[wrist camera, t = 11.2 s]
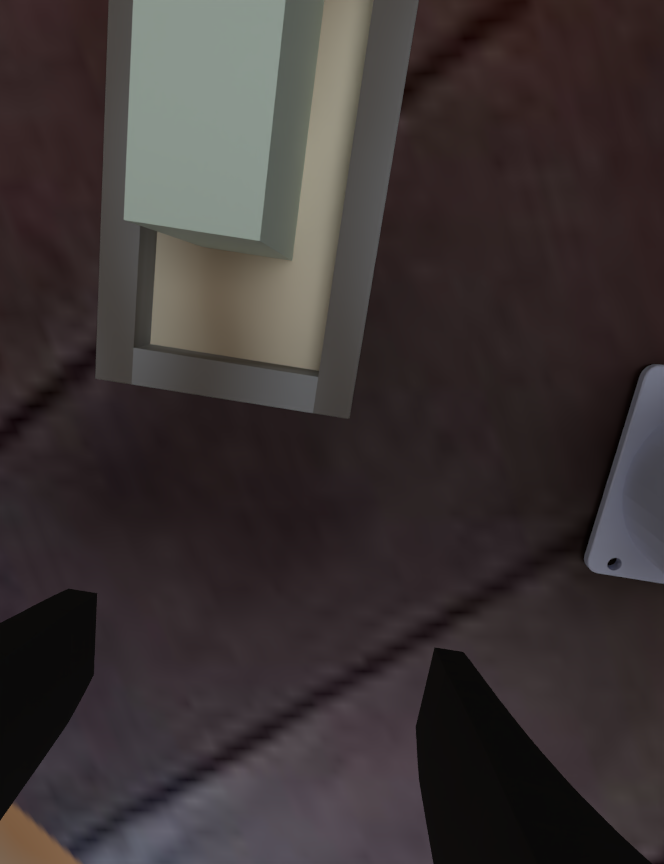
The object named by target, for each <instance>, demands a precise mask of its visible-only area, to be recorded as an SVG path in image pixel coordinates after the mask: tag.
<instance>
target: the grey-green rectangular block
mask: <svg viewBox="0 0 664 864" xmlns="http://www.w3.org/2000/svg"><path fill="white" fill-rule="evenodd" d="M323 8H324V0H133V15H132V38H131V61H130V84H129V108H128V131H127V154H126V177H125V200H124V220H125V221H128V222H131V223H134V224H137V225H140V226H143V227H146V228H149V229H151V230H154V231H157V232H160V233H163V234H166V235H169V236H172V237H175V238H178V239H181V240H184V241H187V242H190V243H192V244H195V245H198V246H201V247H206V248H213V249H219V250H226V251H232V252H239V253H245V254H251V255H258V256H264V257H271V258H277V259H284V260H290V261H292V259H293V251H294V243H295V235H296V227H297V218H298V210H299V202H300V194H301V186H302V178H303V170H304V162H305V154H306V146H307V137H308V129H309V121H310V113H311V105H312V97H313V89H314V81H315V73H316V65H317V56H318V48H319V40H320V32H321V24H322V16H323Z"/></svg>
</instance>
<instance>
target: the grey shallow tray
mask: <svg viewBox="0 0 664 864" xmlns="http://www.w3.org/2000/svg"><path fill="white" fill-rule="evenodd" d="M418 1H419V0H324V8H323V16H322V24H321V32H320V40H319V48H318V56H317V65H316V73H315V81H314V89H313V97H312V105H311V113H310V121H309V129H308V137H307V146H306V154H305V162H304V170H303V178H302V186H301V194H300V202H299V210H298V218H297V227H296V235H295V243H294V251H293V259H292V261H290V260H284V259H277V258H271V257H264V256H258V255H251V254H245V253H239V252H232V251H226V250H219V249H213V248H206V247H201V246H198V245H195V244H192V243H190V242H187V241H184V240H181V239H178V238H175V237H172V236H169V235H166V234H163V233H160V232H157V231H154V230H151V229H149V228H146V227H143V226H140V225H137V224H134V223H131V222H128V221H125V220H124V200H125V177H126V154H127V131H128V108H129V84H130V61H131V38H132V15H133V0H109V10H108V38H107V66H106V94H105V122H104V150H103V178H102V206H101V234H100V262H99V290H98V318H97V346H96V374H95V379H101V380H107V381H114V382H120V383H126V384H133V385H139V386H145V387H151V388H158V389H164V390H170V391H177V392H183V393H189V394H196V395H202V396H208V397H214V398H221V399H227V400H233V401H240V402H246V403H252V404H258V405H265V406H271V407H277V408H284V409H290V410H296V411H302V412H309V413H315V414H321V415H328V416H334V417H340V418H346V419H349V417H350V411H351V405H352V399H353V393H354V387H355V381H356V375H357V369H358V363H359V357H360V351H361V345H362V339H363V333H364V327H365V321H366V315H367V309H368V303H369V297H370V291H371V285H372V279H373V273H374V267H375V261H376V255H377V248H378V242H379V236H380V230H381V224H382V218H383V212H384V206H385V200H386V194H387V188H388V182H389V176H390V170H391V164H392V158H393V152H394V146H395V140H396V134H397V128H398V122H399V116H400V110H401V104H402V98H403V92H404V86H405V80H406V74H407V68H408V62H409V56H410V50H411V44H412V38H413V32H414V26H415V20H416V13H417V7H418Z"/></svg>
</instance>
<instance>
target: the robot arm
mask: <svg viewBox="0 0 664 864" xmlns="http://www.w3.org/2000/svg"><path fill="white" fill-rule="evenodd" d="M612 558H617V560H616V562H615V563H614V564H612V565H607V564H608V562H609V560H610V559H612ZM584 562H585V564H586V565H587V567H588V568H589V569H590V570H591V571H592V572H595V573H599V574H605V575H611V576H618V577H624V578H630V579H637V580H643V581H649V582H655V583H662V584H664V365H661V364H652V365H650V366H647V367H646V368H645V369H644V370H643V371H642V372H641V374H640V376H639V379H638V383H637V386H636V389H635V392H634V396H633V399H632V402H631V405H630V409H629V412H628V415H627V418H626V422H625V425H624V428H623V431H622V435H621V438H620V441H619V444H618V448H617V451H616V454H615V458H614V461H613V464H612V467H611V471H610V474H609V477H608V480H607V484H606V487H605V490H604V493H603V497H602V500H601V503H600V506H599V510H598V513H597V516H596V519H595V523H594V526H593V529H592V532H591V536H590V539H589V542H588V545H587V549H586V552H585V555H584ZM96 606H97V593H92V592H85V591H79V590H73V589H67V590H65V591H63V592H60V593H58V594H56V595H54V596H52V597H50V598H48V599H46V600H44V601H42V602H40V603H38V604H36V605H34V606H32V607H31V608H29V609H27V610H25V611H23V612H21V613H19V614H17V615H15V616H13V617H11V618H9V619H7V620H5V621H3V622H1V623H0V820H1V819H2V817H3V816H4V814H5V813H6V811H7V810H8V809H9V807H10V806H11V804H12V803H13V801H14V800H15V799H16V797H17V796H18V794H19V793H20V791H21V790H22V789H23V787H24V786H25V784H26V783H27V781H28V780H29V779H30V777H31V776H32V774H33V773H34V771H35V770H36V769H37V767H38V766H39V764H40V763H41V761H42V760H43V759H44V757H45V756H46V754H47V753H48V751H49V750H50V748H51V747H52V746H53V744H54V743H55V741H56V740H57V738H58V737H59V735H60V734H61V732H62V731H63V729H64V728H65V727H66V725H67V724H68V722H69V720H70V718H71V717H72V715H73V713H74V711H75V709H76V708H77V706H78V704H79V702H80V700H81V698H82V696H83V695H84V693H85V691H86V689H87V687H88V685H89V683H90V681H91V679H92V677H93V675H94V655H95V630H96ZM416 739H417V757H418V771H419V782H420V788H421V794H422V800H423V806H424V812H425V818H426V824H427V829H428V835H429V841H430V846H431V852H432V858H433V863H434V864H652V863H651V862H650V861H648V860H647V859H646V858H645V857H644V856H643V855H642V854H640V853H639V852H638V851H637V850H636V849H635V848H634V847H633V846H632V845H631V844H630V843H629V842H628V841H626V840H625V839H624V838H623V837H622V836H621V835H620V834H619V833H618V832H617V831H616V830H615V829H614V828H613V827H612V826H611V825H610V824H609V823H608V822H607V821H606V820H605V819H604V818H603V817H602V816H601V815H600V814H599V813H598V812H597V811H596V810H595V809H594V808H593V807H592V806H591V805H590V804H589V803H588V802H587V801H586V800H585V799H584V798H583V797H582V796H581V795H580V794H579V793H578V792H577V791H576V790H575V789H574V788H573V787H572V786H571V785H570V783H569V782H568V781H567V780H566V779H565V778H564V777H563V776H562V775H561V773H560V772H559V771H558V770H557V769H556V768H555V767H554V766H553V764H552V763H551V762H550V761H549V760H548V759H547V758H546V756H545V755H544V754H543V753H542V752H541V751H540V750H539V748H538V747H537V746H536V745H535V744H534V742H533V741H532V740H531V739H530V738H529V737H528V735H527V734H526V733H525V732H524V730H523V729H522V728H521V727H520V725H519V724H518V723H517V722H516V720H515V719H514V718H513V717H512V715H511V714H510V713H509V712H508V710H507V709H506V708H505V706H504V705H503V704H502V703H501V701H500V700H499V699H498V697H497V696H496V695H495V693H494V692H493V691H492V689H491V688H490V687H489V685H488V684H487V683H486V681H485V680H484V679H483V677H482V676H481V675H480V673H479V672H478V671H477V669H476V668H475V667H474V665H473V664H472V663H471V661H470V660H469V659H468V657H467V656H466V655H465V653H464V652H459V651H453V650H447V649H441V648H434V653H433V657H432V661H431V665H430V669H429V674H428V678H427V682H426V686H425V691H424V695H423V699H422V703H421V707H420V712H419V716H418V720H417V724H416Z"/></svg>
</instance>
